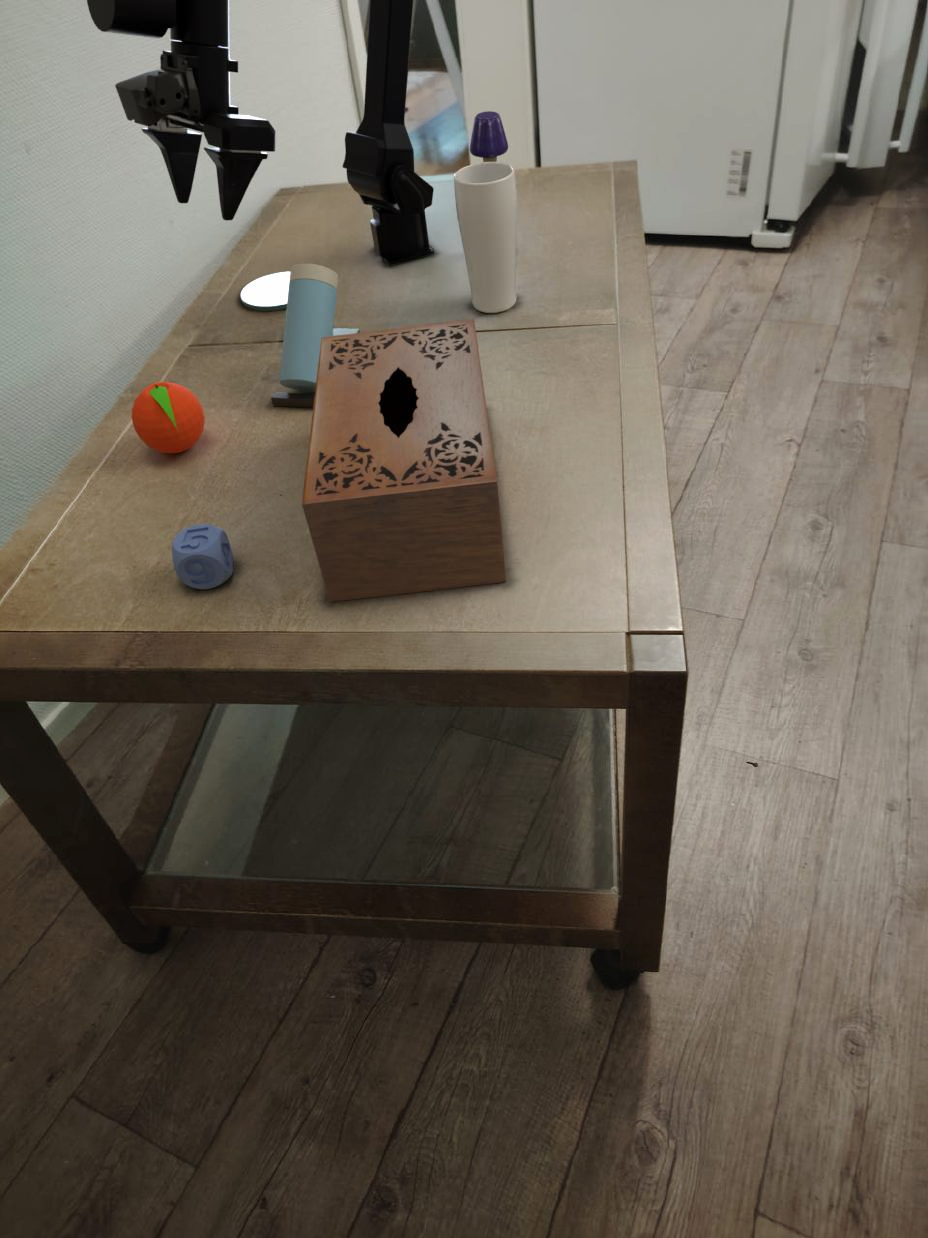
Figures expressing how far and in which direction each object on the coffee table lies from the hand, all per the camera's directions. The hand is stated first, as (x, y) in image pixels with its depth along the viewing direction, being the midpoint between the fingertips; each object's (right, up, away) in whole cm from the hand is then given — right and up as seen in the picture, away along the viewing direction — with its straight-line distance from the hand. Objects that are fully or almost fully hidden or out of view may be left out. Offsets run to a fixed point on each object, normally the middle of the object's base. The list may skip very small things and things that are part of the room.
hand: (204, 211), depth 98 cm
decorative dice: (+7, -41, -22) cm, 47 cm away
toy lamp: (+33, +3, +19) cm, 38 cm away
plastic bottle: (+13, -19, 0) cm, 23 cm away
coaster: (+5, -3, +17) cm, 18 cm away
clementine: (0, -28, -7) cm, 29 cm away
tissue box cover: (+24, -34, -17) cm, 45 cm away
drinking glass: (+32, -7, +9) cm, 34 cm away
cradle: (+13, -19, 0) cm, 23 cm away
